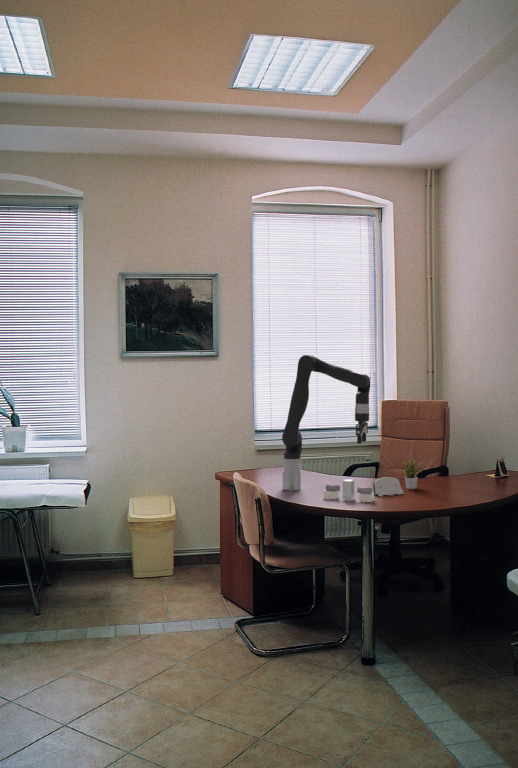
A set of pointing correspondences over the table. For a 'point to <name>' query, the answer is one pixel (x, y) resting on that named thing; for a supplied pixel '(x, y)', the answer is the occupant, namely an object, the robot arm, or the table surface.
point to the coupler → (348, 489)
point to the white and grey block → (365, 494)
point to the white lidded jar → (331, 491)
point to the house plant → (411, 475)
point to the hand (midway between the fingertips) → (361, 442)
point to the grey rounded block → (386, 486)
